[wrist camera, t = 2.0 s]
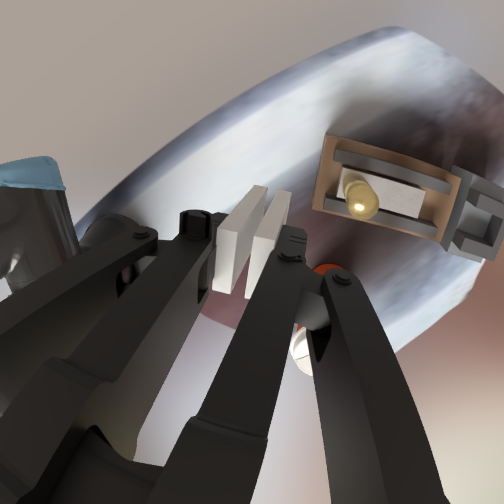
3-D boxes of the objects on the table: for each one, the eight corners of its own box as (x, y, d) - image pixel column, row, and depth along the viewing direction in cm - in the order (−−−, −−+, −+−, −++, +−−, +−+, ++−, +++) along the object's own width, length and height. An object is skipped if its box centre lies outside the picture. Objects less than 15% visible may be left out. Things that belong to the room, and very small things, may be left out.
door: (313, 194, 36) (311, 215, 29) (325, 133, 32) (327, 137, 25) (425, 223, 34) (446, 250, 27) (441, 167, 30) (469, 182, 23)
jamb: (431, 233, 34) (454, 263, 26) (452, 164, 29) (484, 179, 22) (463, 243, 33) (489, 273, 26) (484, 178, 28) (518, 196, 21)
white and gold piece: (335, 192, 29) (340, 217, 22) (341, 164, 27) (349, 181, 21) (412, 212, 28) (437, 242, 21) (420, 187, 26) (448, 210, 19)
